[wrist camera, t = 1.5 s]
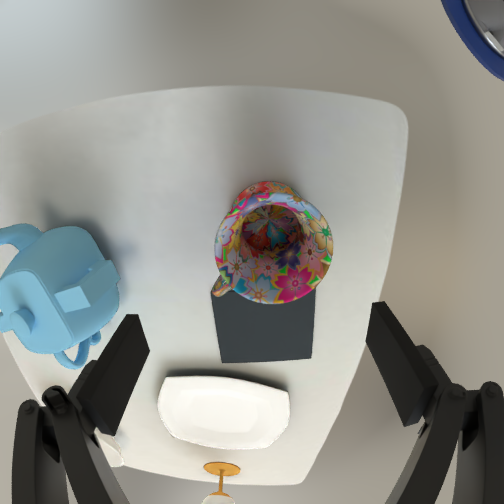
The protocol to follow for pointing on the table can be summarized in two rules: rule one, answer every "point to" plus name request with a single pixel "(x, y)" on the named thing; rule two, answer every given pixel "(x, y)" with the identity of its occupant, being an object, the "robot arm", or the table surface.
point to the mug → (272, 245)
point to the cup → (220, 482)
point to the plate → (223, 411)
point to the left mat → (263, 328)
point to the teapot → (56, 291)
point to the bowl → (110, 449)
